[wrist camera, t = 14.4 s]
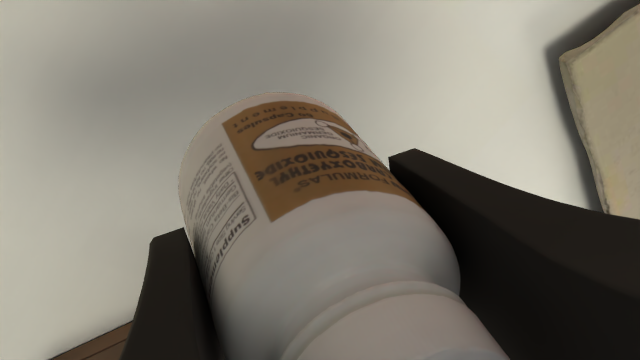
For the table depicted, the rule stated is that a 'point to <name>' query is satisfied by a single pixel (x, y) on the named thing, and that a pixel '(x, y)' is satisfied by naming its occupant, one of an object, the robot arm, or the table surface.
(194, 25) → the table surface
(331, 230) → the pill bottle
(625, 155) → the decorative slab
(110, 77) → the table surface
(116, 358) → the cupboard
